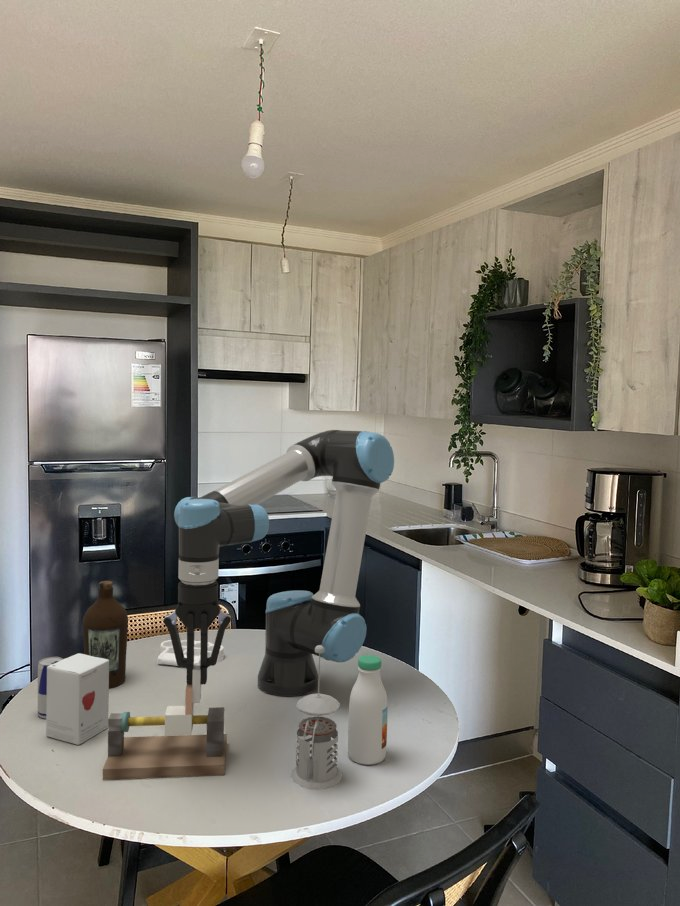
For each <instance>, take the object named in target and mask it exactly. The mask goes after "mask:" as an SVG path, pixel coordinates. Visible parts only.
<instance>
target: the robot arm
mask: <svg viewBox="0 0 680 906" xmlns="http://www.w3.org/2000/svg"><path fill="white" fill-rule="evenodd" d="M394 468H395V454H394V450H393V447H392V446H391V443H390V441H389V440H388V439H387V438H386V437H385V435H382V434H381V433H379V432H372V431H367V430H361V431H360V430H358V431H357V430H340V429H330V430H326V431H322V432H318V433H316V434H313V435H311V436H308V437H306V438H305V439H302V440H300V441H297V442H296V443H294V444H292V445H290V446H289V447H288V448H287V450H286V452H285V453H284V454H282V455H280V456H278V457H276V458H274V459H272V460H270V461H268V462H266V463H265V464H263V465H260V466H258V467H257V468H255V469H253V470H251V471H249V472H247V473H245V474H243V475H241V476H239V477H237V478H235V479H234V480H232V481H230V482H228V483H225V484H224V485H222V486H220V487H217V488H216V489H215V490H211V491H210V492H208V493H206V494H204V495H202V496H200V497H198V496H187V497H184V498H182V499H180V501H178V503H177V505H176V506H175V509H174V513H173V516H174V521H175V524H176V525H177V526H178V574H177V575H178V576H177V577H178V579H179V580H180V581H179V582H178V583H177V584H178V585H177V605H176V607H175V610H174V611H173V612H172V613H170V614H165V616H164V618H163V621H162V622H163V625H165V627H166V628H167V630H168V632H169V635H170V636H169V637H170V640H171V641H172V645H173V649H174V653H175V658H176V662H177V665H178V666H177V667H180V666H181V667H182V666H183V668H185V670H186V686H187V685H192V703H194V704H200V703H201V699H202V685H206V684H207V682H208V669H209V667H211V666H212V667H213V666H216V664H217V663H218V662H217V658H218V654H219V651H220V647H221V645H222V643H223V639H224V635H225V632H226V629H227V627H229V624H230V623H231V620H232V615H231V614H230V613H225V612H223V611H222V610H221V606H220V604H219V582H218V581H217V579H218V578H219V568H220V567H219V565H220V564H219V562H220V561H219V560H220V557H219V556H220V547H226V546H227V547H228V546H234V545H239V544H245V543H250V544H251V543H252V542H256V541H260V540H262V539H263V538H265V537H266V535H267V533H268V531H269V528H270V519H269V515H268V512H267V510H266V509H265V507H263V506H261V505H259V504H261V503H263V502H264V501H267V500H268V499H270V498H273V496H275V495H278V494H279V493H280V492H283V491H284V490H286V489H288V488H290V487H291V486H293V485H295V484H296V483H299V482H301V481H302V482H309V481H311V480H312V479H314V478H317V477H332V479H331V485H332V486H333V487H334V489H335V491H336V492H335V499H334V505H333V509H332V510H333V511H332V517H331V521H330V526H329V533H328V537H327V545H326V550H325V555H324V556H325V557H324V562H323V567H322V568H323V569H322V574H321V579H320V585H319V590H318V591H317V592H316V593H315V594H314V593H313V592H311V591H309V590H286V591H281V592H277V593H273V594H272V595H271V594H270V596H269V597H268V598H267V600H266V607H265V608H266V609H265V612H264V613H265V652H264V657H263V659H262V662H261V665H260V667H259V670H258V674H257V687H258V688H259V690H261V691H263V692H264V693H266V694H269V695H273V696H278V697H297V696H301V695H302V696H303V695H308V694H309V693H311V692H313V691H315V690H316V689H318V678H319V671H318V669H317V665H316V663H315V660H314V656H317V657H319V653H316V652H315V647H316V646H317V645H322V646H323V647H324V649H325V652H324V653H320V658H322V659H324V660H326V661H331V662H335V663H345V662H348V661H350V660H351V659H353V658H354V657H355V656H356V654H357V653H358V652H360V650H361V649H362V647H363V644H364V642H365V639H366V637H367V624H366V621H365V618H364V617H363V616H361V614H360V609H361V604H360V602H359V600H358V599H357V597H356V593H357V587H358V582H359V575H360V572H361V571H360V569H361V563H362V558H363V557H362V556H363V553H364V552H363V551H364V545H365V540H366V534H367V528H368V521H369V517H370V511H371V505H372V498H373V497H374V496H375V495H376V494H378V493H379V492H380V490H381V489H380V488H381V484H382V483H385V482H386V481H387V480H389V479H390V476H391V475H392V474H393V472H394ZM217 617H218V621H217V622H218V623H217V624H219V625H218V628H217V632H216V636H215V639H214V643H213V644H214V647H213V651H212V654H211V657H209V658H207V657H208V642H209V641H208V640H209V627H211V625H212V624H213V623H214V621H215V620H216V619H217ZM178 619H179V621H180V622H181V623H182V624H183V626H184V627H185V628H186V640H187V658H184V654H183V650H182V645H181V641H180V640H181V638H180V634H179V628H178V626H177V622H178ZM195 629H199V630H200V641H201V652H200V665H194V640H195V631H196V630H195ZM313 655H314V656H313Z"/></svg>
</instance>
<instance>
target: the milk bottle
mask: <svg viewBox="0 0 680 906" xmlns="http://www.w3.org/2000/svg"><path fill="white" fill-rule="evenodd" d="M357 665H358V666H357V669H358V675H357V678H356V681H355V682H354V685H353V686H352V689H351V691H350V696H349V704H348V705H349V706H348V729H347V731H348V732H347V755H348V757H349V759H350V760H351V761H352V762H355V763H357V764H360V765H369V766H370V765H377V764H380V763H382V762H383V761H384V760H385V758H386V756H387V743H388V742H387V739H388V738H387V736H388V696H387V695H388V694H387V691H386V688H385V686H384V684H383V682H382V677H381V673H380V672H381V670H382V659H381V657H379V656H377V655H373V654H363V655H361V656H359V657H358V661H357Z"/></svg>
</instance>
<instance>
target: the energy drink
mask: <svg viewBox="0 0 680 906" xmlns="http://www.w3.org/2000/svg"><path fill="white" fill-rule="evenodd" d="M63 659H64V658H63V657H60V656H49V657H44V658H42V659H39V661H38V665H37V716H38V717H39V718H41V719H45V720H46V707H47V666H50V665H52V664H54V663H57V662H59V661H61V660H63Z"/></svg>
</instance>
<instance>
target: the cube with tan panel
mask: <svg viewBox="0 0 680 906" xmlns="http://www.w3.org/2000/svg"><path fill="white" fill-rule="evenodd" d="M184 702H185V703H184V704H185V705H167V707H166V710H165V714H164V716H165V725H164V736H178V735H193V728H194V724H192V716H194V704H195V703H192V685H187V684H186V686H185V701H184Z"/></svg>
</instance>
